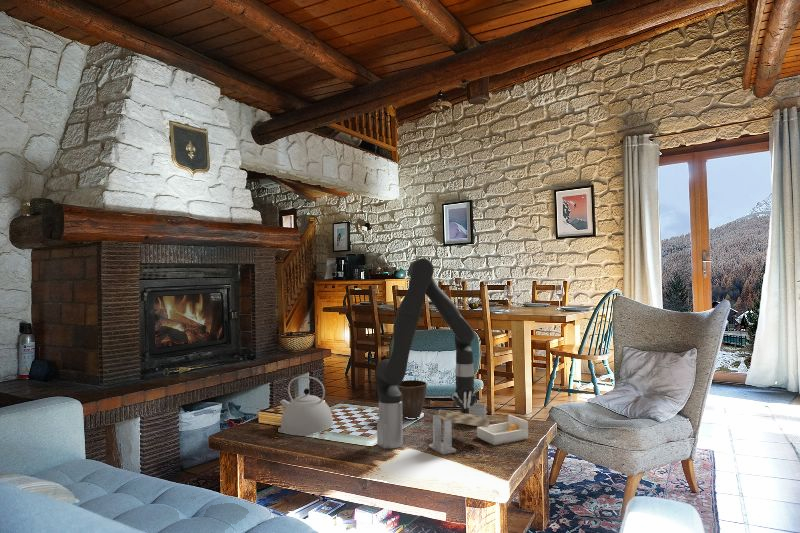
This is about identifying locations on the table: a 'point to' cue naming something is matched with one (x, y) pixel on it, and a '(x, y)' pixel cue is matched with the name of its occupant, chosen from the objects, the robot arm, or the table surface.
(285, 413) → the kettle
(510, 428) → the ball
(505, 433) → the bin
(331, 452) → the table surface
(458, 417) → the chute lever
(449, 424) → the pivot stand
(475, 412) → the teacup
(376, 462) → the table surface
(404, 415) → the plant pot
